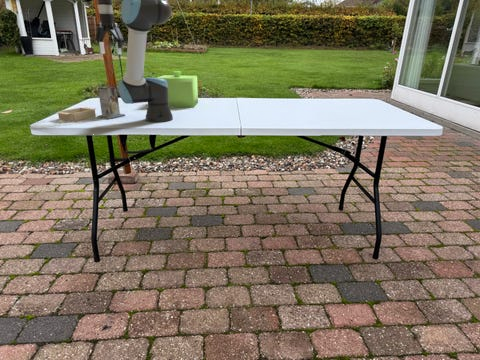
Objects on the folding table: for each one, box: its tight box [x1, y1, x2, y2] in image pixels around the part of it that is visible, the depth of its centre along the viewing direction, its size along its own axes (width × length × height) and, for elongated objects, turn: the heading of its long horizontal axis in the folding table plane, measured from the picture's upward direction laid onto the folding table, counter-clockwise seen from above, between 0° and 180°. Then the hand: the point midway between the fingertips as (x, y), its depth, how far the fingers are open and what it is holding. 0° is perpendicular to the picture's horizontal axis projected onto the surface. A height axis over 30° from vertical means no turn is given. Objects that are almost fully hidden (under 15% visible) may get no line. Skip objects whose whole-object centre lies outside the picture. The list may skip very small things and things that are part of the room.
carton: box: [55, 106, 97, 123], centre depth 199 cm, size 13×20×4 cm, turn 152°
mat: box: [96, 113, 126, 120], centre depth 204 cm, size 10×12×1 cm
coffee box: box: [97, 86, 121, 117], centre depth 201 cm, size 9×6×16 cm
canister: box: [156, 70, 199, 109], centre depth 243 cm, size 25×21×23 cm
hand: (111, 54), depth 201 cm, fingers open, 13 cm apart
